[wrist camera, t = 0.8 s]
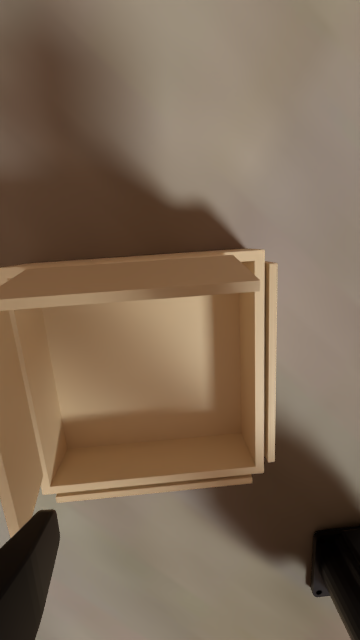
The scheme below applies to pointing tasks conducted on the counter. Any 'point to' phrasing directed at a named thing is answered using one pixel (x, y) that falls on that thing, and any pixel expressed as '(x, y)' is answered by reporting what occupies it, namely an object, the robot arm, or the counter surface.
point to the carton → (151, 386)
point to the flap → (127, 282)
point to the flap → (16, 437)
